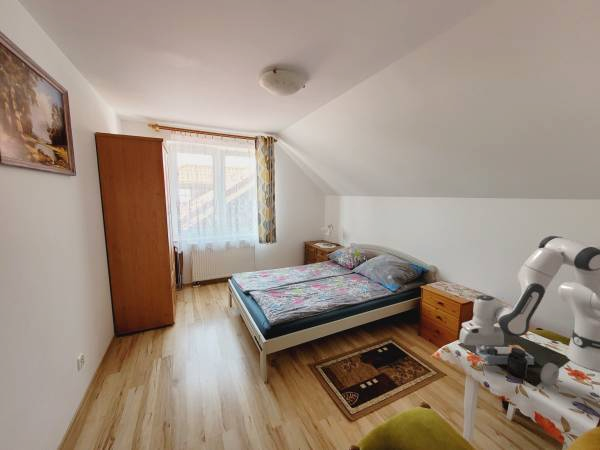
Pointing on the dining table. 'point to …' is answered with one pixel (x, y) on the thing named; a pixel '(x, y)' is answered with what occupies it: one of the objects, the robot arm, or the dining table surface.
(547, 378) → the donut
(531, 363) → the channel
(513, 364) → the supplement bottle
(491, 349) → the grey block
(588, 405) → the dining table surface
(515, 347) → the block
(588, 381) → the dining table surface
